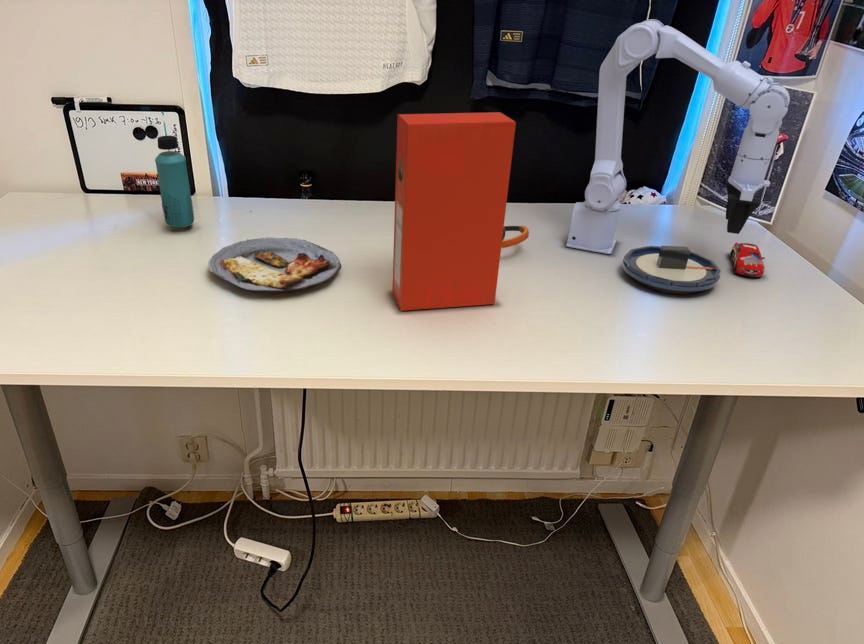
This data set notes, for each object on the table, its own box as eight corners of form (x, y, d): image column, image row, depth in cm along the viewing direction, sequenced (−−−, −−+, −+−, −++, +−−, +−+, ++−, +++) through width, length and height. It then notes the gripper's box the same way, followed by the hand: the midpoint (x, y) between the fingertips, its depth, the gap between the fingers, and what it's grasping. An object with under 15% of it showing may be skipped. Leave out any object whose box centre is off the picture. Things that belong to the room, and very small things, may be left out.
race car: (763, 281, 134) (769, 263, 132) (733, 277, 136) (739, 258, 134) (756, 256, 145) (762, 239, 143) (728, 252, 146) (734, 235, 144)
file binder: (391, 291, 127) (397, 113, 110) (480, 285, 130) (499, 111, 113) (401, 312, 120) (409, 125, 103) (494, 305, 123) (516, 122, 106)
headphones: (456, 213, 155) (540, 211, 144) (459, 236, 158) (542, 235, 147) (420, 236, 143) (508, 236, 132) (424, 260, 146) (511, 262, 135)
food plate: (363, 274, 133) (364, 257, 131) (270, 313, 118) (268, 295, 117) (281, 239, 147) (280, 223, 145) (188, 270, 133) (186, 253, 131)
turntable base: (629, 285, 131) (630, 278, 131) (637, 261, 141) (638, 254, 141) (701, 299, 127) (703, 292, 126) (704, 273, 137) (706, 266, 136)
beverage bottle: (202, 227, 152) (190, 135, 141) (179, 236, 147) (166, 142, 137) (181, 221, 155) (168, 131, 144) (158, 229, 150) (143, 137, 140)
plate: (634, 288, 126) (639, 264, 124) (613, 250, 141) (618, 228, 139) (733, 293, 125) (741, 269, 123) (701, 255, 140) (708, 233, 138)
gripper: (781, 169, 118) (757, 242, 126) (774, 148, 130) (752, 217, 137) (737, 163, 120) (716, 236, 128) (734, 144, 132) (714, 211, 139)
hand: (732, 225), depth 133 cm, fingers open, 7 cm apart
